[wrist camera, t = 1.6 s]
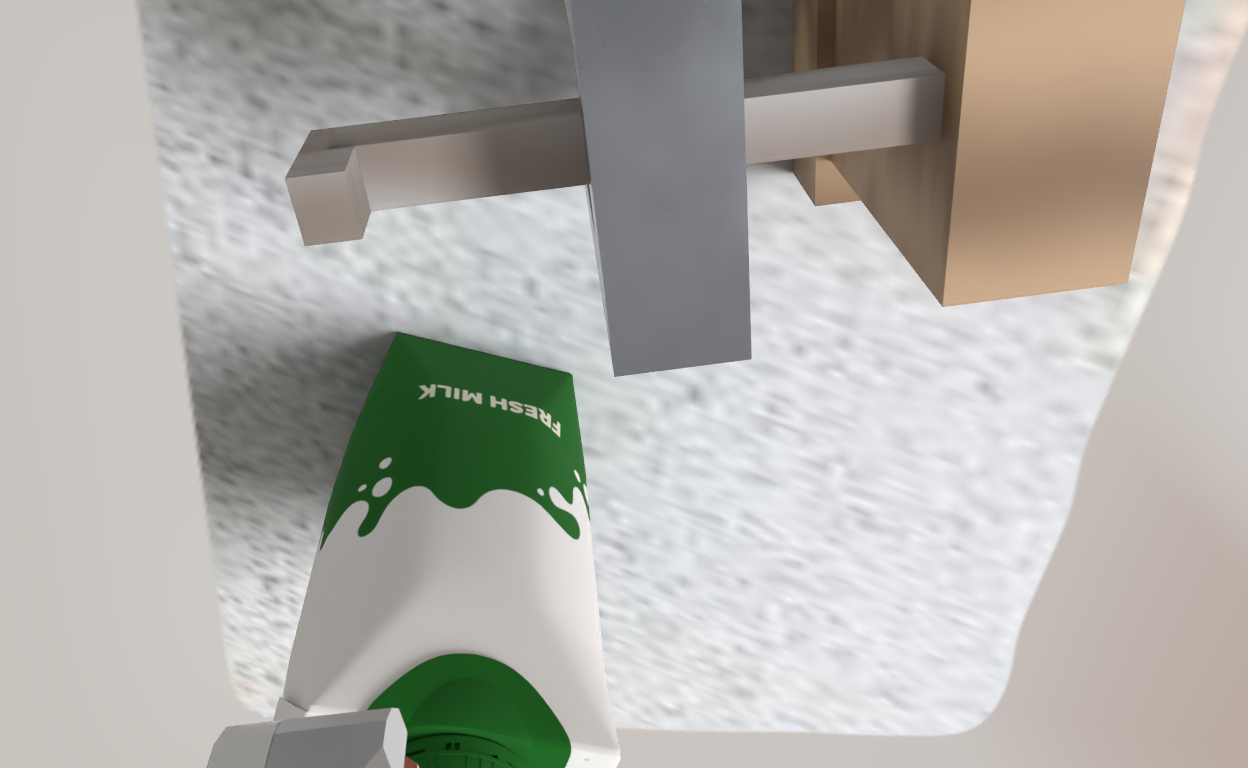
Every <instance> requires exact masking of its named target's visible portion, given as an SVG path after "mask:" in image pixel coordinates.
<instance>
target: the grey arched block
mask: <svg viewBox="0 0 1248 768" xmlns="http://www.w3.org/2000/svg"><path fill="white" fill-rule="evenodd" d="M564 4H565V9H566V15H567V20H568V25H569V31H570V36H571V41H572V47H573V53H574V62H575V70H576V78H577V87H578V95H579V103H580V112H581V120H582V128H583V137H584V145H585V154H586V162H587V170H588V179H589V184H587V185H585V189H586V196H587V202H588V209H589V215H590V222H591V228H592V234H593V241H594V247H595V254H596V260H597V267H598V273H599V280H600V286H601V293H602V299H603V305H604V312H605V318H606V325H607V331H608V338H609V344H610V351H611V357H612V363H613V370H614V376H615V377H617V376H624V375H632V374H640V373H648V372H655V371H663V370H671V369H679V368H686V367H694V366H702V365H710V364H717V363H725V362H733V361H741V360H749V359H751V324H750V288H749V252H748V216H747V180H746V144H745V109H744V73H743V37H742V1H741V0H564Z"/></svg>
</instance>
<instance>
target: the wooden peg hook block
mask: <svg viewBox="0 0 1248 768" xmlns="http://www.w3.org/2000/svg"><path fill="white" fill-rule="evenodd" d="M1185 2H1186V0H794V72H789V73H781V74H772V75H764V76H756V77H748V78H744V109H745V144H746V165H748V164H756V163H764V162H773V161H781V160H789V159H794V175H795V176H796V178H797V179H798V181H799V182H800V184H801V185H802V187H803V188H804V190H805V191H806V193H807V194H808V196H809V198H810V199H811V201H812V202H813V204H814V205H815V206H820V205H828V204H836V203H844V202H852V201H860V200H861V201H862V202H863V204H864V205H865V206H866V207H867V209H868V210H869V211H870V213H871V214H872V215H873V217H874V218H875V219H876V221H877V222H878V223H879V224H880V226H881V227H882V228H883V230H884V231H885V232H886V234H887V235H888V236H889V237H890V239H891V240H892V241H893V243H894V244H895V245H896V247H897V248H898V249H899V251H900V252H901V253H902V254H903V256H904V257H905V258H906V260H907V261H908V262H909V264H910V265H911V266H912V268H913V269H914V270H915V271H916V273H917V274H918V275H919V277H920V278H921V279H922V281H923V282H924V283H925V285H926V286H927V287H928V288H929V290H930V291H931V292H932V294H933V295H934V296H935V298H936V299H937V300H938V301H939V303H940V304H941V305H942V307H946V306H954V305H961V304H969V303H977V302H985V301H993V300H1000V299H1008V298H1016V297H1024V296H1032V295H1039V294H1047V293H1055V292H1063V291H1071V290H1078V289H1086V288H1094V287H1102V286H1110V285H1117V284H1125V283H1128V278H1129V273H1130V268H1131V264H1132V259H1133V254H1134V249H1135V244H1136V239H1137V235H1138V230H1139V225H1140V220H1141V215H1142V210H1143V206H1144V201H1145V196H1146V191H1147V186H1148V181H1149V176H1150V172H1151V167H1152V162H1153V157H1154V152H1155V147H1156V143H1157V138H1158V133H1159V128H1160V123H1161V118H1162V114H1163V109H1164V104H1165V99H1166V94H1167V89H1168V84H1169V80H1170V75H1171V70H1172V65H1173V60H1174V55H1175V51H1176V46H1177V41H1178V36H1179V31H1180V26H1181V22H1182V17H1183V12H1184V7H1185ZM285 180H286V184H287V187H288V190H289V194H290V197H291V201H292V204H293V207H294V211H295V214H296V217H297V221H298V224H299V228H300V231H301V234H302V238H303V241H304V244H305V246H311V245H319V244H327V243H335V242H343V241H351V240H359V239H362V238H363V235H364V232H365V228H366V225H367V222H368V219H369V216H370V213H371V211H377V210H385V209H393V208H401V207H409V206H417V205H425V204H433V203H441V202H449V201H458V200H466V199H474V198H482V197H490V196H498V195H506V194H514V193H522V192H530V191H538V190H546V189H554V188H563V187H571V186H579V185H587V184H589V179H588V170H587V162H586V154H585V145H584V137H583V128H582V120H581V112H580V103H579V98H575V99H567V100H559V101H550V102H542V103H534V104H526V105H517V106H509V107H501V108H493V109H484V110H476V111H468V112H460V113H452V114H443V115H435V116H427V117H419V118H410V119H402V120H394V121H386V122H378V123H369V124H361V125H353V126H345V127H336V128H328V129H320V130H312V131H311V132H310V133H309V135H308V137H307V139H306V141H305V143H304V144H303V146H302V148H301V150H300V152H299V154H298V156H297V157H296V159H295V161H294V163H293V165H292V167H291V168H290V170H289V172H288V174H287V176H286V178H285Z"/></svg>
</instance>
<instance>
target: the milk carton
mask: <svg viewBox="0 0 1248 768" xmlns="http://www.w3.org/2000/svg"><path fill="white" fill-rule="evenodd" d="M385 708H399V711H400V713H401V716H402V719H403V721H404V724H405V727H406V729H407V741H406V750H405V756H406V757H408V758H409V759H411V760H413V761H414V762H416V763H418V766H419V768H616V767H617V765H618V763H619V761H620V758H621V757H620V755H619V754H620V748H619V743H618V739H617V734H616V729H615V725H614V720H613V716H612V711H611V706H610V700H609V695H608V690H607V685H606V679H605V671H604V662H603V651H602V640H601V630H600V619H599V609H598V598H597V588H596V577H595V567H594V556H593V546H592V535H591V525H590V515H589V504H588V494H587V484H586V473H585V465H584V457H583V450H582V443H581V436H580V429H579V422H578V414H577V407H576V400H575V393H574V386H573V377H572V374H568V373H563V372H559V371H555V370H551V369H547V368H543V367H539V366H535V365H531V364H526V363H522V362H518V361H514V360H510V359H506V358H502V357H498V356H493V355H489V354H485V353H481V352H477V351H473V350H469V349H465V348H460V347H456V346H452V345H448V344H444V343H440V342H436V341H432V340H427V339H423V338H419V337H415V336H411V335H407V334H403V333H399V332H397V334H396V336H395V338H394V341H393V343H392V345H391V347H390V350H389V352H388V354H387V356H386V358H385V360H384V363H383V365H382V367H381V369H380V371H379V374H378V376H377V378H376V380H375V382H374V385H373V387H372V389H371V391H370V393H369V396H368V398H367V400H366V402H365V404H364V407H363V409H362V411H361V413H360V416H359V418H358V421H357V423H356V425H355V428H354V430H353V432H352V435H351V437H350V440H349V443H348V446H347V449H346V452H345V455H344V458H343V461H342V464H341V467H340V470H339V473H338V476H337V479H336V482H335V485H334V488H333V492H332V495H331V498H330V502H329V505H328V509H327V513H326V517H325V521H324V525H323V529H322V533H321V537H320V540H319V544H318V548H317V552H316V556H315V560H314V564H313V568H312V572H311V576H310V580H309V584H308V588H307V592H306V596H305V600H304V604H303V608H302V612H301V616H300V620H299V624H298V628H297V632H296V636H295V640H294V644H293V648H292V652H291V656H290V661H289V666H288V672H287V677H286V683H285V688H284V693H283V698H282V697H280V698H279V701H278V704H277V708H276V712H275V716H274V720H273V721H279V720H284V719H293V718H302V717H311V716H320V715H330V714H339V713H348V712H357V711H367V710H376V709H385Z"/></svg>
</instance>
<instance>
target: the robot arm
mask: <svg viewBox="0 0 1248 768" xmlns="http://www.w3.org/2000/svg"><path fill="white" fill-rule="evenodd" d="M406 741H407V729H406V727H405V724H404V721H403V719H402V716H401V713H400V711H399V708H385V709H376V710H367V711H357V712H348V713H339V714H330V715H320V716H311V717H302V718H293V719H284V720H279V721H270V722H262V723H254V724H246V725H237V726H229V727H226V728H225V730H224V731H223V732H222V734H221V735H220V737H219V738H218V740H217V741H216V742H215V744H214V746H213V749H212V752H211V755H210V758H209V762H208V765H207V768H419V766H418V763H416V762H414V761H413V760H411V759H409V758H408V757H406V756H405V750H406Z"/></svg>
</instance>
